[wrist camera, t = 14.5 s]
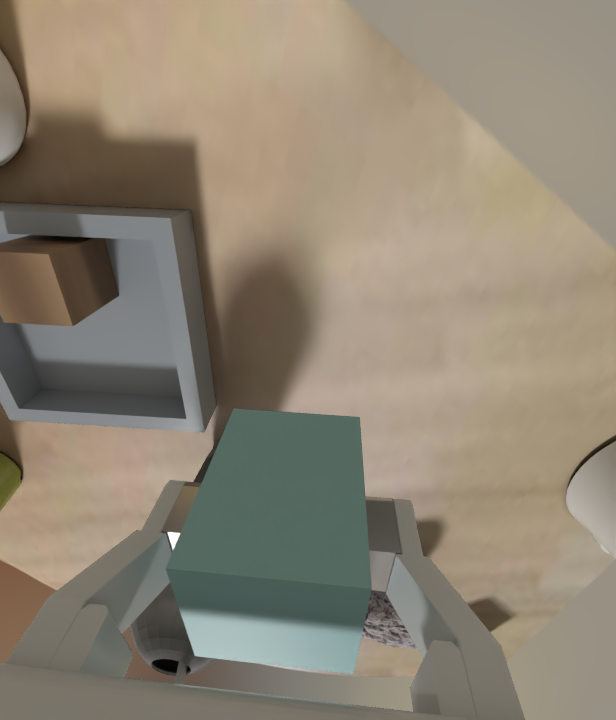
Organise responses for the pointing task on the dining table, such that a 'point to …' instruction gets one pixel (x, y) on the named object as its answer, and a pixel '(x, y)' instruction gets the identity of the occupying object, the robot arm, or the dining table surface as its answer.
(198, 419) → the tray
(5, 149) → the milk bottle
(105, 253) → the walnut block
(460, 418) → the dining table surface
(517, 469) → the dining table surface
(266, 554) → the teal block
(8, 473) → the plant pot
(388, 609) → the pumice stone
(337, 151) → the dining table surface
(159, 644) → the beverage cup
